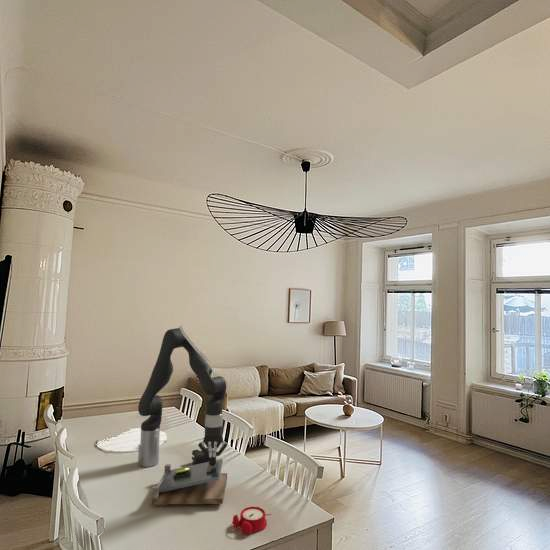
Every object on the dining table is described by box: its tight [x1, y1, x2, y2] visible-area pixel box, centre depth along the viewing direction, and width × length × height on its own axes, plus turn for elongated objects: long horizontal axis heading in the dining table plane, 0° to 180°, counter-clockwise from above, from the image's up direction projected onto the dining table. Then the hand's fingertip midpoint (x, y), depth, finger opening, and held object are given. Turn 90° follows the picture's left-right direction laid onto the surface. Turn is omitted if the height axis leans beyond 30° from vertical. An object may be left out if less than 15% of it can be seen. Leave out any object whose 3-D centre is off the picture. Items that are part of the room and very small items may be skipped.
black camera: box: [191, 447, 214, 465], centre depth 193 cm, size 10×7×7 cm
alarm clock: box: [230, 506, 272, 536], centre depth 139 cm, size 10×6×15 cm
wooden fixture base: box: [150, 463, 228, 507], centre depth 162 cm, size 28×23×8 cm
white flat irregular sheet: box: [95, 427, 168, 454], centre depth 223 cm, size 40×39×3 cm
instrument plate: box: [156, 458, 224, 493], centre depth 162 cm, size 26×18×4 cm
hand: (212, 465), depth 163 cm, fingers closed
